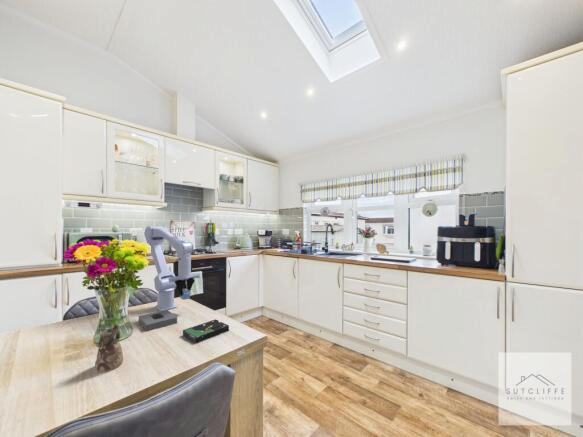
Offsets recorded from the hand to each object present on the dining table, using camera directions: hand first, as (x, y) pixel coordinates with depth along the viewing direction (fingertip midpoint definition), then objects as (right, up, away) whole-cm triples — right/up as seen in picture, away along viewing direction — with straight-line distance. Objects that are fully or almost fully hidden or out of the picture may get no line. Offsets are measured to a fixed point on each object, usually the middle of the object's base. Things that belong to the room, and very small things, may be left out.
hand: (184, 294), depth 125 cm
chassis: (-7, -9, -12) cm, 16 cm away
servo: (0, -2, 0) cm, 2 cm away
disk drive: (+19, -9, -23) cm, 31 cm away
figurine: (-4, -9, -46) cm, 47 cm away
